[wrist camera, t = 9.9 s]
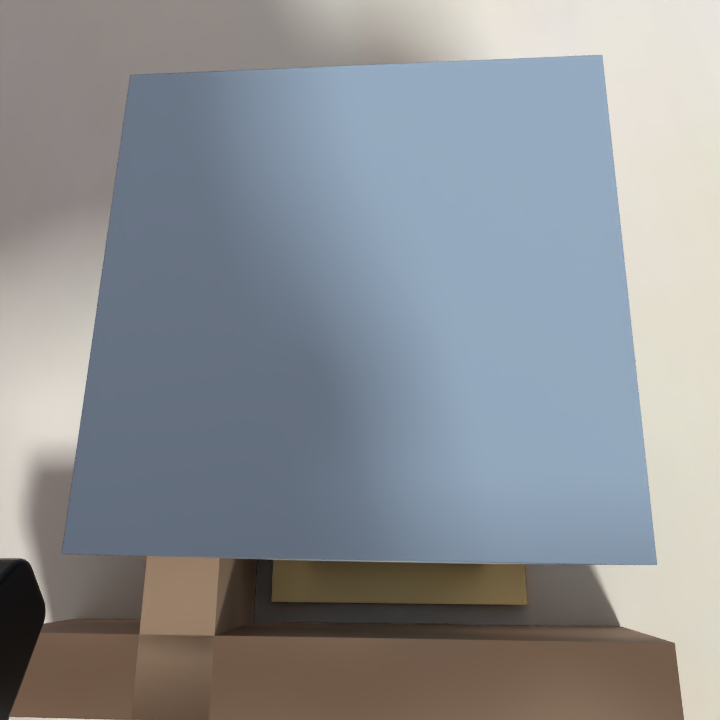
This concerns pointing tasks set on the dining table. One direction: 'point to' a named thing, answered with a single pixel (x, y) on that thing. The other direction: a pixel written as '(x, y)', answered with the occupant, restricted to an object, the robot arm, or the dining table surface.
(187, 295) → the large blue square block
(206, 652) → the wooden t-shaped piece
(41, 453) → the dining table surface
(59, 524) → the dining table surface
